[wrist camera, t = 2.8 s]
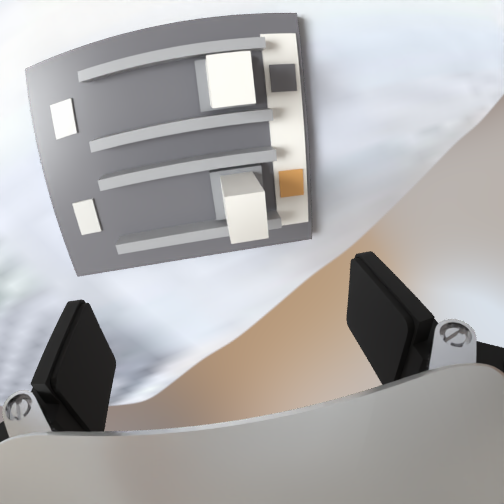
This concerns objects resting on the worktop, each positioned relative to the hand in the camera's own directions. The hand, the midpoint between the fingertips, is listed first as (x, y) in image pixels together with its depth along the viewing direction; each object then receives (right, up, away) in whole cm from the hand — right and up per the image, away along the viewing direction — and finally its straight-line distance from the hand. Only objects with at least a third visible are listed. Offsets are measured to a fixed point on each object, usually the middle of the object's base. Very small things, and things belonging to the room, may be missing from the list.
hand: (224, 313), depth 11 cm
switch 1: (-1, +12, +7) cm, 14 cm away
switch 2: (0, +6, +10) cm, 12 cm away
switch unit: (-4, +9, +9) cm, 13 cm away
